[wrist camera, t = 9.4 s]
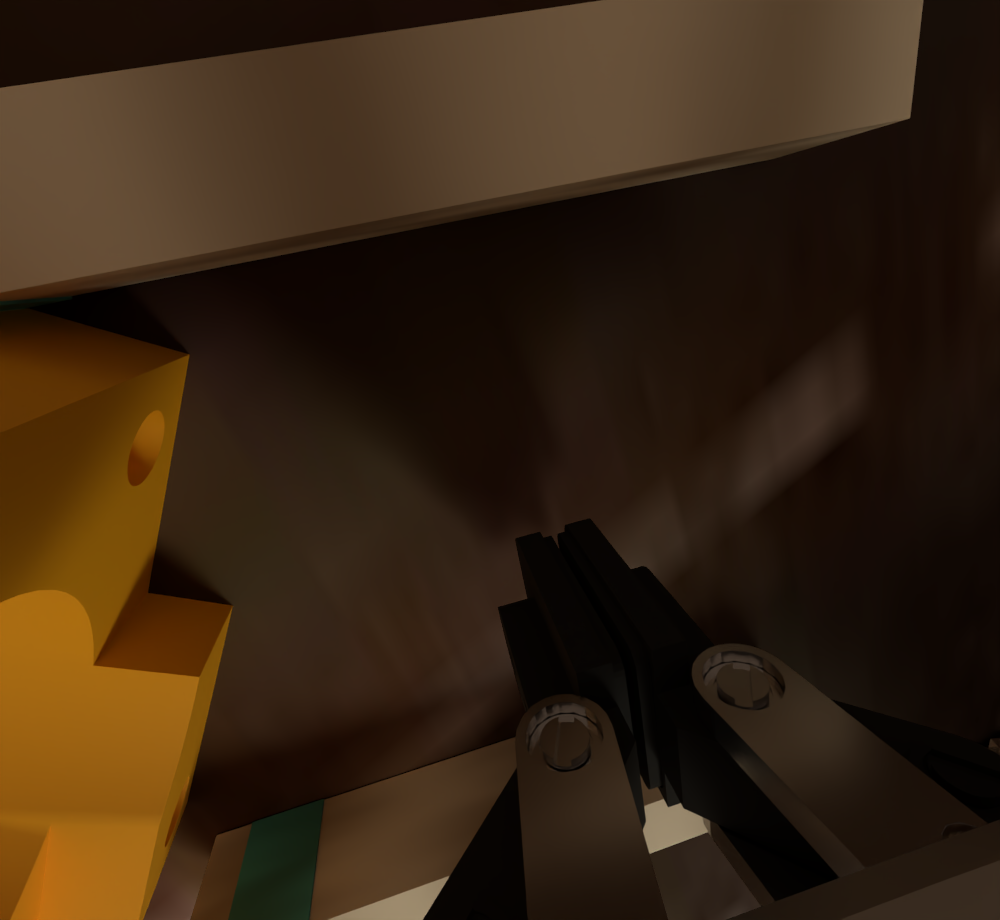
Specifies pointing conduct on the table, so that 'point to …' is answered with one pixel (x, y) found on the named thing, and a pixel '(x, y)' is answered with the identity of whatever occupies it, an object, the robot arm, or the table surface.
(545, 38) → the channel
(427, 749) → the table surface
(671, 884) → the table surface
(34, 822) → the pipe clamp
